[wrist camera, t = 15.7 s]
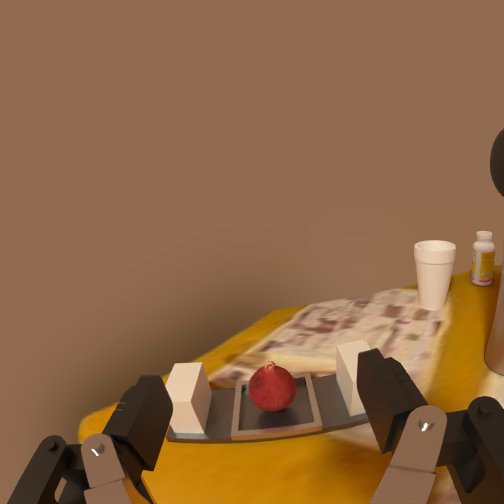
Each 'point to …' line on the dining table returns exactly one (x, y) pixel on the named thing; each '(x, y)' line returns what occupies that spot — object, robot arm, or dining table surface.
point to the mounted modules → (199, 392)
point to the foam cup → (433, 272)
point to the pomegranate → (272, 388)
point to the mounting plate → (274, 414)
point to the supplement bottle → (483, 259)
